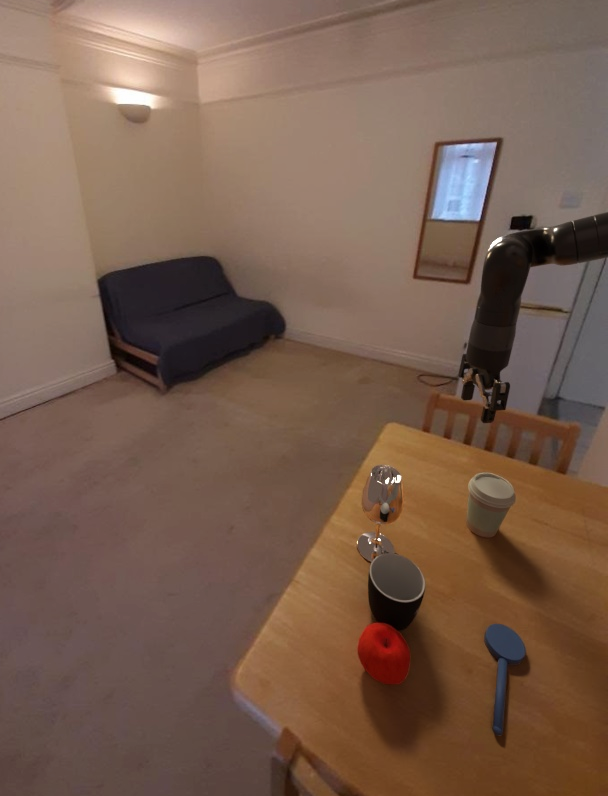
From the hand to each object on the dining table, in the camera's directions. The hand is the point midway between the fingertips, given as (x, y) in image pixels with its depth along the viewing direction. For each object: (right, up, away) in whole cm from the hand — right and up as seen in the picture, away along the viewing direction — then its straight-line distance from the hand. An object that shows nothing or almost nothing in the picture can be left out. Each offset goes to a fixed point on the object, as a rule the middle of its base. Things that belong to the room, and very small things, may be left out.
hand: (475, 410), depth 86 cm
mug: (-23, -34, -12) cm, 43 cm away
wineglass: (-22, -29, -2) cm, 36 cm away
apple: (-27, -38, -21) cm, 52 cm away
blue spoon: (-9, -38, -23) cm, 46 cm away
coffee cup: (+2, -26, +2) cm, 26 cm away
